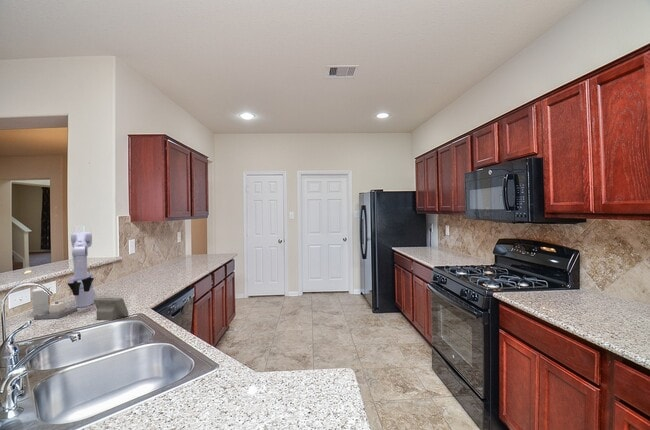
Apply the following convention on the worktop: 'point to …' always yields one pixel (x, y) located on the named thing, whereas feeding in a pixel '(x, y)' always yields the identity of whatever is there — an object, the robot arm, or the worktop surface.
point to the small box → (40, 301)
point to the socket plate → (55, 314)
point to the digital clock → (110, 308)
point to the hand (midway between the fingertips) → (81, 293)
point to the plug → (56, 307)
